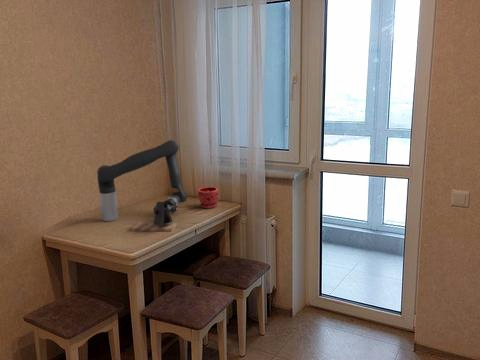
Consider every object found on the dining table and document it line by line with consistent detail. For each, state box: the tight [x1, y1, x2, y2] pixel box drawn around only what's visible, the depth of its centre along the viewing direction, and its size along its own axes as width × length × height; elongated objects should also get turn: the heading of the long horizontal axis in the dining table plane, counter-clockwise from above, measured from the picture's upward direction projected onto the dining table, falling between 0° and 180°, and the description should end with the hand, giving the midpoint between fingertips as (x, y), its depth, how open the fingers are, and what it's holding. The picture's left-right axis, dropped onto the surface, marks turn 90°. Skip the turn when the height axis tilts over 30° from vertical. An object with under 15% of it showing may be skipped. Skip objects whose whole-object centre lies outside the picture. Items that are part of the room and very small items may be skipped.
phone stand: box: [153, 201, 174, 226], centre depth 235 cm, size 9×6×12 cm, turn 140°
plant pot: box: [197, 186, 219, 209], centre depth 276 cm, size 13×13×12 cm
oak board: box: [129, 221, 177, 232], centre depth 237 cm, size 24×10×2 cm, turn 82°
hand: (161, 212), depth 232 cm, fingers closed on phone stand, 6 cm apart
